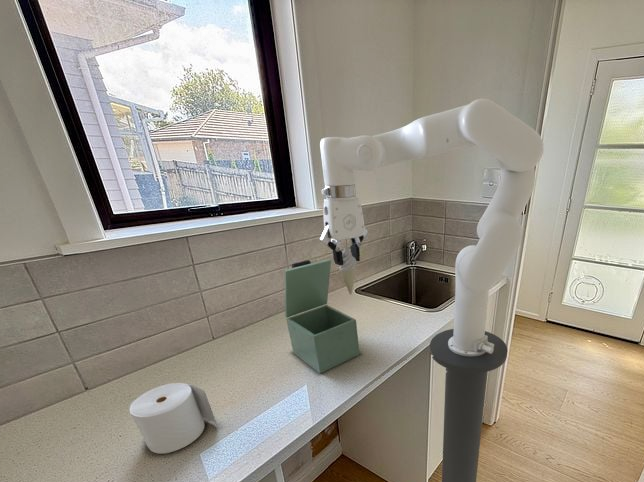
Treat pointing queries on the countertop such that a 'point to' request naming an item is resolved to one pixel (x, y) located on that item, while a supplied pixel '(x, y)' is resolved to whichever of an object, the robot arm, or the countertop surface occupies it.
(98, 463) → the countertop surface
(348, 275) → the ice cream cone
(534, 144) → the robot arm
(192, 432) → the toilet tissue
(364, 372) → the countertop surface
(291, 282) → the bin lid
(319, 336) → the bin
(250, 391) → the countertop surface
